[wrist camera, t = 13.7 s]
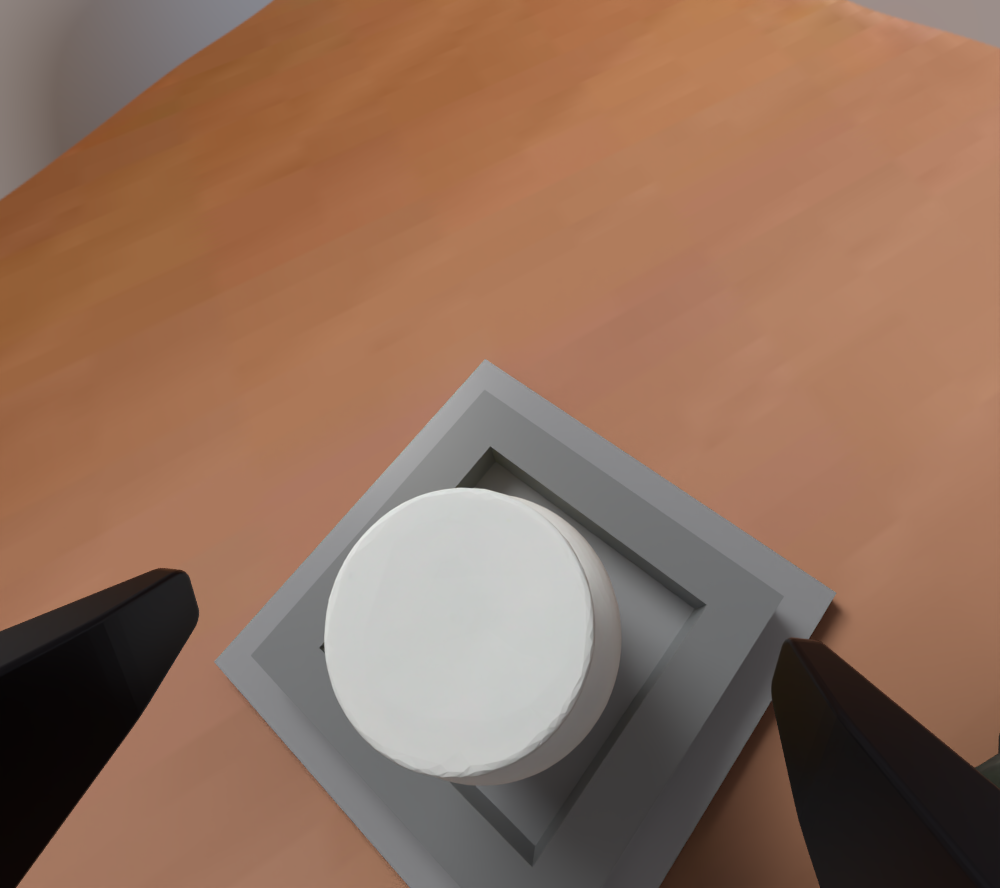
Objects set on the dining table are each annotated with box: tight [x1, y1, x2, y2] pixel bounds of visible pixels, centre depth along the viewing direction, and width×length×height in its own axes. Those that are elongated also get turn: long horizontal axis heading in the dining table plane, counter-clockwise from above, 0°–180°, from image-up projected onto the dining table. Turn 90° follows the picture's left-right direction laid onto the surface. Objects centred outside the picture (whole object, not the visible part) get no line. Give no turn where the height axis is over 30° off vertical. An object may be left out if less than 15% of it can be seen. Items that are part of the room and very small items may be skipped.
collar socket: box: [214, 359, 836, 888], centre depth 16 cm, size 14×14×2 cm
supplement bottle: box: [324, 488, 621, 786], centre depth 12 cm, size 5×5×10 cm
